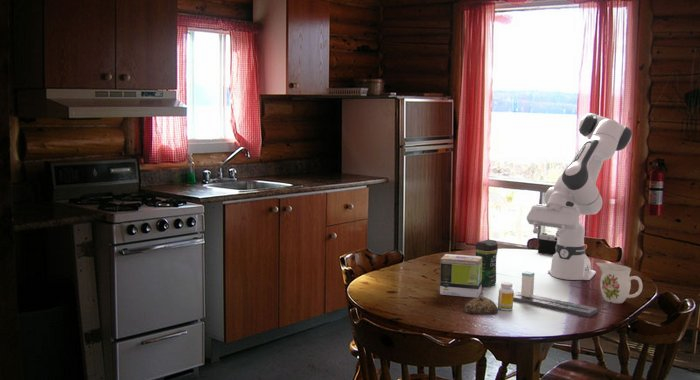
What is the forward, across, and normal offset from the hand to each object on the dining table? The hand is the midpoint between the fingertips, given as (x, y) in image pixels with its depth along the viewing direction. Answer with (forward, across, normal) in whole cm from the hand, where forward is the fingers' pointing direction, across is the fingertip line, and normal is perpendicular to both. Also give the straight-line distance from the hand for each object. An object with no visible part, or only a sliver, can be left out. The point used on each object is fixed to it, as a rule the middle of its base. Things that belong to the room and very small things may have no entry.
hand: (546, 234), depth 285 cm
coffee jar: (+19, -25, +16) cm, 35 cm away
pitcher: (+10, +26, +24) cm, 37 cm away
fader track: (+26, +9, +8) cm, 29 cm away
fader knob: (+25, -1, +7) cm, 26 cm away
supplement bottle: (+37, -2, -3) cm, 37 cm away
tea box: (+32, -25, +2) cm, 41 cm away
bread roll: (+42, -9, -7) cm, 43 cm away
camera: (-35, -28, +70) cm, 82 cm away
